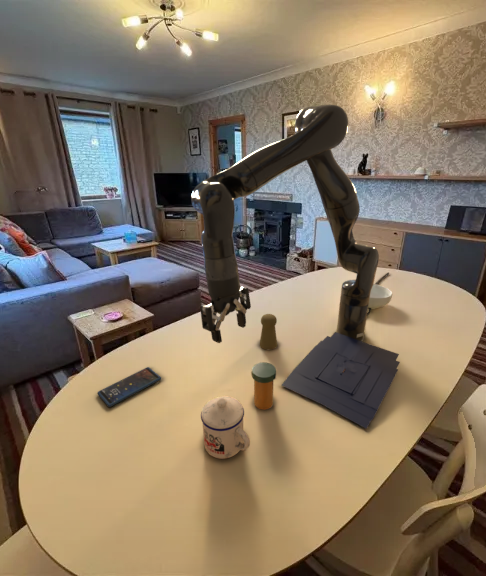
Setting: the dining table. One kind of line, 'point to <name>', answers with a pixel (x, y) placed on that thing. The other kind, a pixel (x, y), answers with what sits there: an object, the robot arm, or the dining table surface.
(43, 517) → the dining table surface
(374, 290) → the cereal bowl
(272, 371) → the lid
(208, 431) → the teacup with lid
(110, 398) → the smartphone
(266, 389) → the jar
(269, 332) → the brown rounded tall piece
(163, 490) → the dining table surface
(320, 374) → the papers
